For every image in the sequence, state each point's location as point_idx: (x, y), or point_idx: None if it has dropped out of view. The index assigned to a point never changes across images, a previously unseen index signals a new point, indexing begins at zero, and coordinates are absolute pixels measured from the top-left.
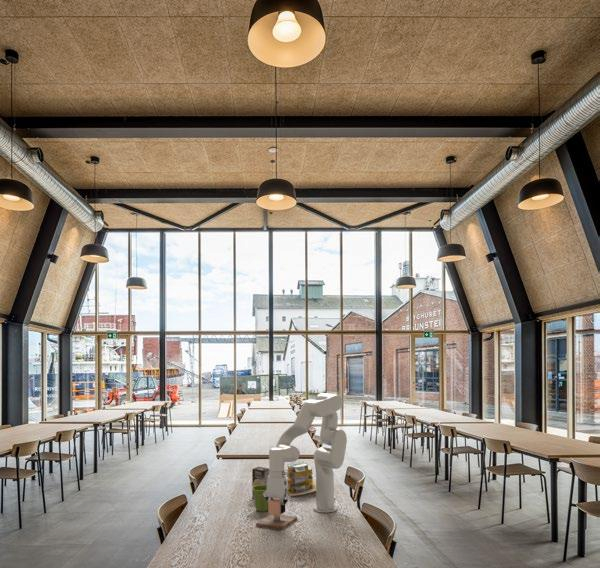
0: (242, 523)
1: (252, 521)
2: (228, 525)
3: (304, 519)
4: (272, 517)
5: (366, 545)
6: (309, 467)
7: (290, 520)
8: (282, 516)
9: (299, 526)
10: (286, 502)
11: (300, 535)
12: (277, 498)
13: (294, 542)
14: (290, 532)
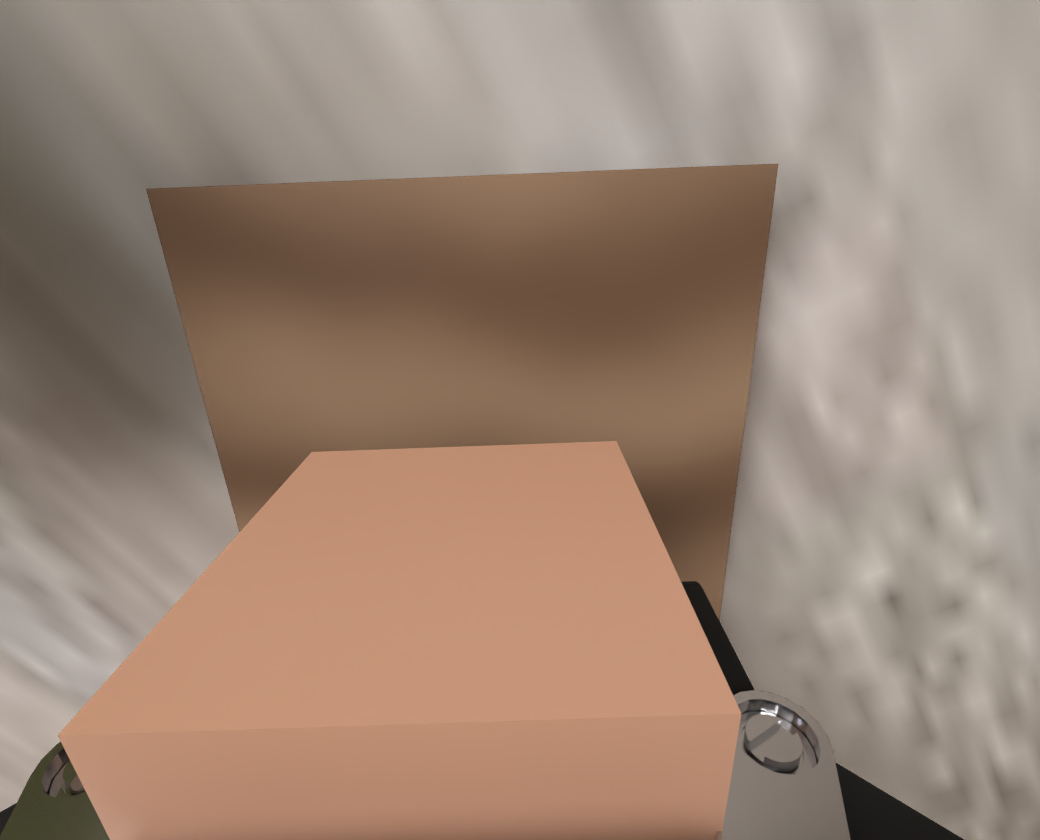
0: (77, 671)
1: (119, 565)
2: (6, 775)
3: (885, 50)
4: (337, 431)
5: None
6: None
7: (723, 420)
8: (472, 294)
9: (887, 439)
10: (877, 815)
11: (981, 686)
12: (302, 775)
13: (955, 833)
14: (827, 663)
